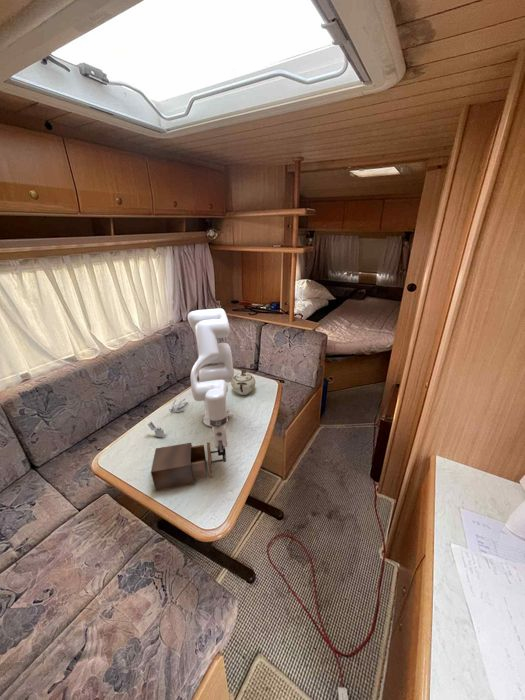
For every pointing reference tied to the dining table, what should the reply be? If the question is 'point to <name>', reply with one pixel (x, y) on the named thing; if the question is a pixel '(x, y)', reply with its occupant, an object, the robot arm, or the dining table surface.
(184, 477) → the cabinet
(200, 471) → the drawer
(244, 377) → the sugar bowl
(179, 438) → the dining table surface
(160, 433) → the lighter
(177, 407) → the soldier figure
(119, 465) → the dining table surface
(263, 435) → the dining table surface
